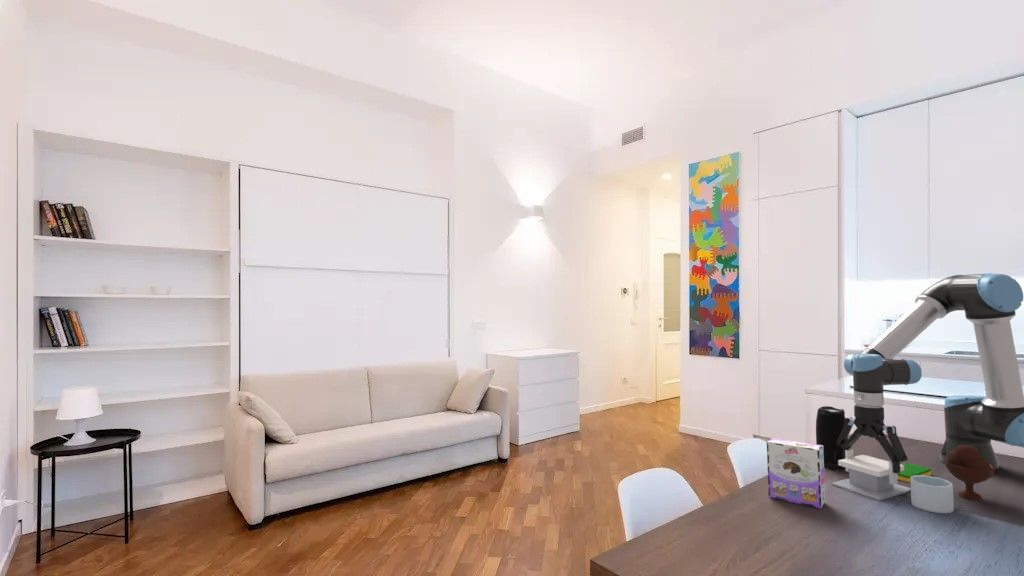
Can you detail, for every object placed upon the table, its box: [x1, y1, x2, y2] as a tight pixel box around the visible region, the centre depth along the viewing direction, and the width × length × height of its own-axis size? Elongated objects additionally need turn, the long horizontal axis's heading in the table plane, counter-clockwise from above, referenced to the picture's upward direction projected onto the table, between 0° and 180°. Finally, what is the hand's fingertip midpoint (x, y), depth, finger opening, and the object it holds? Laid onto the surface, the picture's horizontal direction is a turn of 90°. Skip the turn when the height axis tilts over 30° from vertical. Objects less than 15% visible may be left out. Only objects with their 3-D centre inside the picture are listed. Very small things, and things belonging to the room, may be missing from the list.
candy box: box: [766, 437, 826, 509], centre depth 150 cm, size 14×6×16 cm, turn 47°
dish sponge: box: [897, 462, 932, 484], centre depth 168 cm, size 7×14×2 cm, turn 119°
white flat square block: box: [838, 454, 904, 477], centre depth 158 cm, size 12×12×2 cm
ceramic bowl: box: [910, 475, 955, 514], centre depth 144 cm, size 9×9×7 cm
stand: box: [831, 468, 911, 502], centre depth 158 cm, size 16×14×6 cm
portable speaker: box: [815, 405, 849, 470], centre depth 179 cm, size 9×9×20 cm
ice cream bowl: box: [944, 445, 996, 501], centre depth 150 cm, size 11×11×15 cm
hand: (870, 476), depth 158 cm, fingers closed on white flat square block, 12 cm apart
